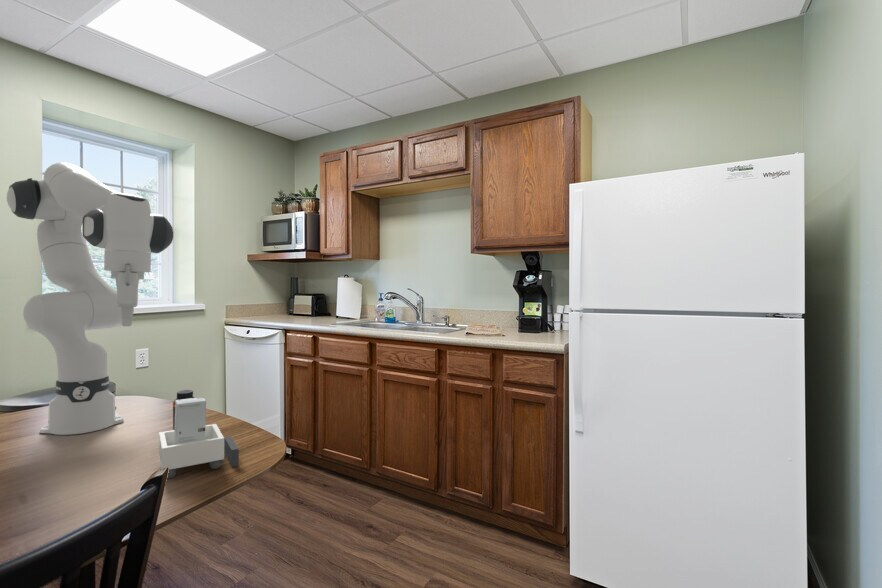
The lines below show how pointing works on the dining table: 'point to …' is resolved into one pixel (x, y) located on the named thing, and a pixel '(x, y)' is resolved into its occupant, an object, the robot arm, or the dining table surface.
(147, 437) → the dining table surface
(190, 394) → the supplement bottle
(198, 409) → the skincare box
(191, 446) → the cart
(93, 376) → the robot arm
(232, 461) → the block
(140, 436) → the dining table surface
